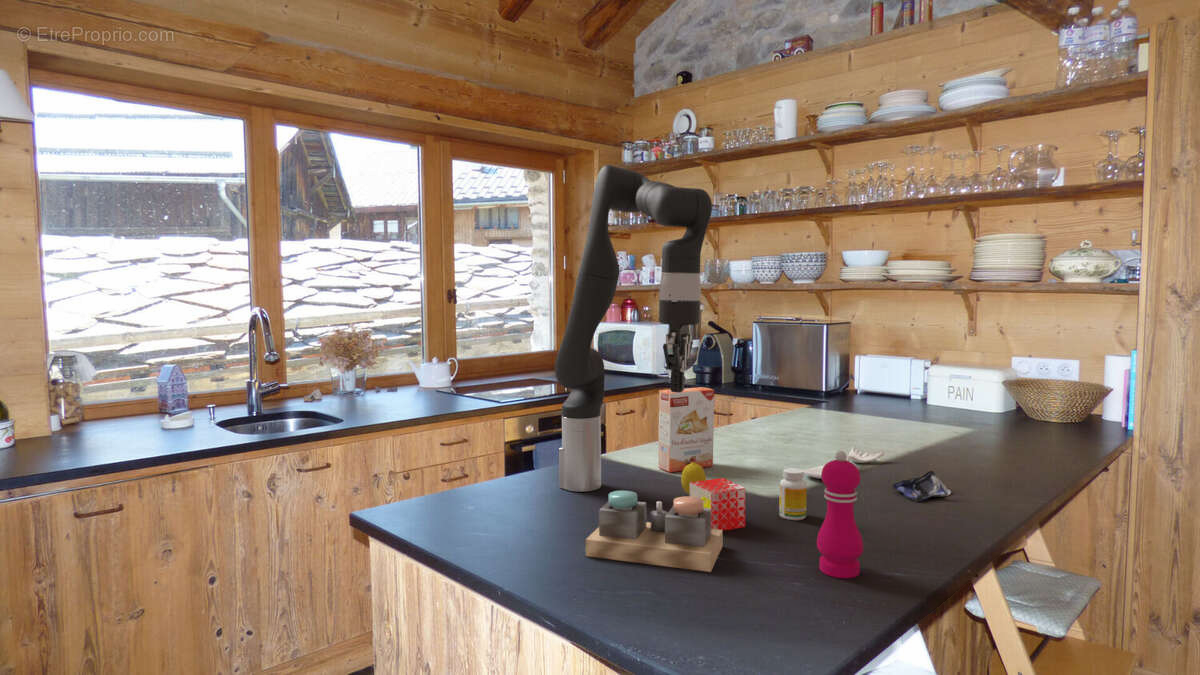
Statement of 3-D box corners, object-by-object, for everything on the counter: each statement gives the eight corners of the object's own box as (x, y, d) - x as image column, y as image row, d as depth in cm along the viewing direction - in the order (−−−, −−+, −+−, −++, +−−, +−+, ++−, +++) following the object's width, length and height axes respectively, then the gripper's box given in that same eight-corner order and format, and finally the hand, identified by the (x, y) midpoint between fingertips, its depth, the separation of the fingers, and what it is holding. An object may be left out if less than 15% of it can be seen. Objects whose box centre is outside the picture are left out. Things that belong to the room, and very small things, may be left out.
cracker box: (670, 473, 173) (670, 392, 172) (657, 468, 178) (657, 389, 177) (714, 467, 179) (715, 388, 178) (701, 462, 185) (701, 385, 183)
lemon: (705, 501, 150) (705, 465, 149) (680, 500, 151) (680, 464, 150) (706, 494, 155) (706, 459, 155) (682, 492, 156) (682, 458, 156)
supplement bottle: (773, 514, 140) (774, 469, 140) (793, 510, 143) (794, 465, 142) (791, 522, 136) (792, 475, 135) (812, 518, 138) (812, 471, 137)
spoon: (885, 462, 183) (886, 450, 183) (829, 486, 161) (829, 472, 161) (853, 457, 190) (853, 445, 190) (795, 479, 167) (795, 466, 167)
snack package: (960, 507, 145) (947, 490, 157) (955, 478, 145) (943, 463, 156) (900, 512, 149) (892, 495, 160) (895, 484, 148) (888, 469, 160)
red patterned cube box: (689, 520, 137) (689, 482, 137) (722, 515, 141) (722, 477, 140) (711, 533, 130) (711, 492, 130) (745, 527, 133) (745, 487, 133)
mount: (585, 556, 119) (585, 513, 119) (607, 533, 130) (607, 494, 130) (710, 572, 112) (710, 526, 111) (722, 546, 123) (722, 505, 123)
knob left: (604, 533, 121) (604, 497, 121) (614, 524, 126) (613, 489, 126) (632, 537, 119) (632, 500, 119) (640, 527, 124) (640, 492, 124)
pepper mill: (809, 563, 115) (810, 446, 114) (850, 561, 116) (852, 445, 114) (827, 581, 108) (828, 457, 107) (871, 579, 108) (873, 455, 107)
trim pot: (648, 531, 123) (648, 504, 122) (653, 525, 126) (653, 498, 125) (665, 533, 122) (665, 505, 121) (670, 527, 125) (669, 500, 124)
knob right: (670, 541, 117) (670, 503, 117) (677, 531, 122) (677, 495, 122) (700, 544, 116) (700, 506, 115) (705, 534, 120) (705, 497, 120)
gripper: (669, 297, 132) (667, 385, 133) (649, 298, 119) (647, 395, 121) (707, 298, 129) (704, 388, 130) (691, 299, 117) (688, 398, 118)
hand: (677, 391), depth 126 cm, fingers closed
